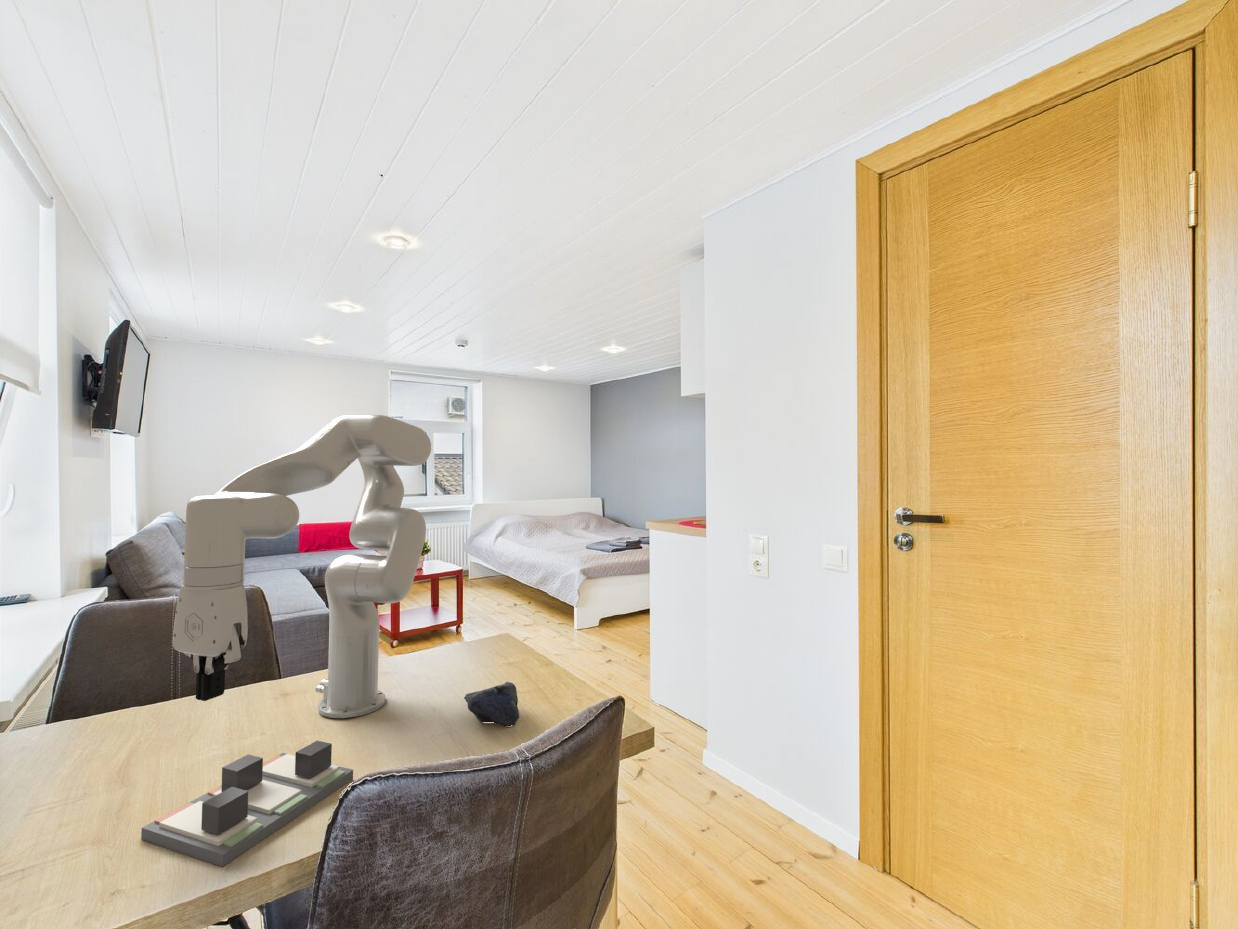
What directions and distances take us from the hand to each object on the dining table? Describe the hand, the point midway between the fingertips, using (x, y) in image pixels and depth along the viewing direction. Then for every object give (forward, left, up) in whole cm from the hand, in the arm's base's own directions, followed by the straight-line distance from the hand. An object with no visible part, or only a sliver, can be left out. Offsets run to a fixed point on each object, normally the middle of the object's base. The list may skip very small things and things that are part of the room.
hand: (210, 696), depth 84 cm
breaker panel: (+10, 0, -15) cm, 18 cm away
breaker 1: (+13, -7, -12) cm, 19 cm away
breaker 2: (+13, +7, -12) cm, 19 cm away
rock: (+26, +37, -15) cm, 48 cm away
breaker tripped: (+7, 0, -12) cm, 14 cm away
